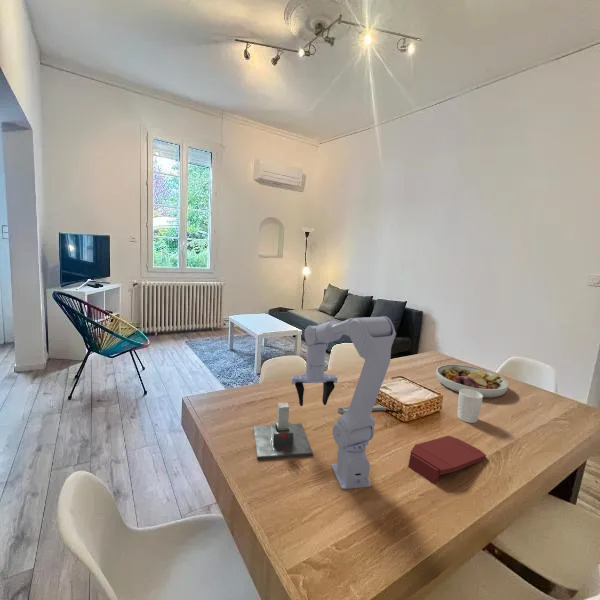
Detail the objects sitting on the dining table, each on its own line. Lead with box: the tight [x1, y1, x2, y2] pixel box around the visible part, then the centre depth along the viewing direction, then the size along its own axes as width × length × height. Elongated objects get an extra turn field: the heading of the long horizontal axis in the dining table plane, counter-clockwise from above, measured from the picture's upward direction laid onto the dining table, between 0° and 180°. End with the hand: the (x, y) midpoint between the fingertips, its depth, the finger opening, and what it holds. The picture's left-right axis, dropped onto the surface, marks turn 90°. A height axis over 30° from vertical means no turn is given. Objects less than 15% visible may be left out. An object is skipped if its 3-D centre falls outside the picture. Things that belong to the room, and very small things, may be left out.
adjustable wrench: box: [337, 403, 386, 415], centre depth 129 cm, size 25×6×2 cm, turn 100°
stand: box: [253, 421, 314, 461], centre depth 104 cm, size 16×16×4 cm
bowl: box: [435, 364, 509, 398], centre depth 157 cm, size 30×30×8 cm
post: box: [276, 402, 290, 432], centre depth 103 cm, size 3×3×8 cm
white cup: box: [457, 389, 484, 424], centre depth 125 cm, size 8×8×10 cm
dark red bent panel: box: [407, 435, 487, 485], centre depth 100 cm, size 12×5×25 cm
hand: (312, 404), depth 107 cm, fingers open, 7 cm apart
